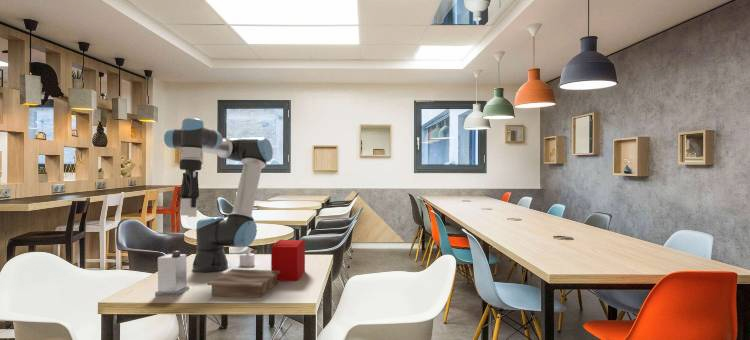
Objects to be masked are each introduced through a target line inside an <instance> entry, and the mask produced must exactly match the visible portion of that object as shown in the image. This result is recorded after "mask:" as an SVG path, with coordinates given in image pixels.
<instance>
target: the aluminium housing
mask: <svg viewBox="0 0 750 340" xmlns="http://www.w3.org/2000/svg"><path fill="white" fill-rule="evenodd" d="M187 272H188V271H187V254H186V253H181V250H173V251H172V252H171V253H168V254H166V255H161V256H159V257H157V291H155V292H154V295H155V296H170V295H177V296H179V295H181V294H182V292H183V293H185V292H186V290H187V291H189V290H190V286H189V285H188V286H187V281H188V280H187ZM188 289H189V290H188ZM184 291H185V292H184ZM180 293H181V294H180ZM178 294H179V295H178Z"/></svg>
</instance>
